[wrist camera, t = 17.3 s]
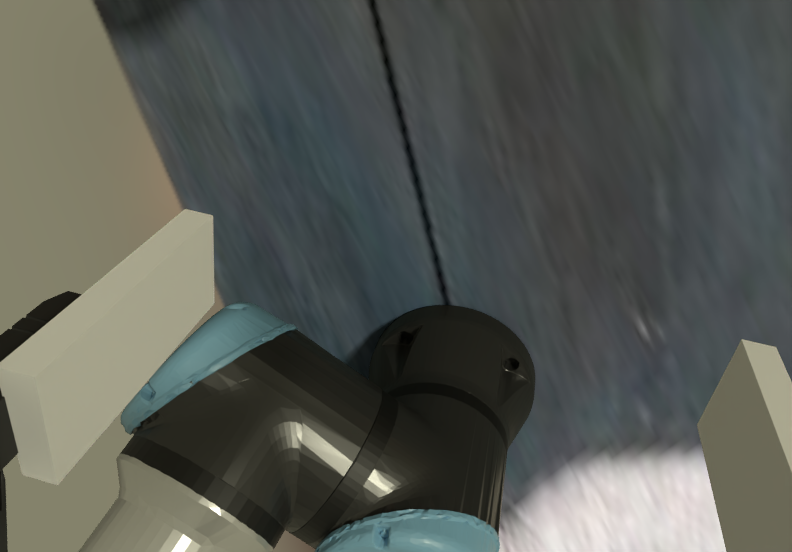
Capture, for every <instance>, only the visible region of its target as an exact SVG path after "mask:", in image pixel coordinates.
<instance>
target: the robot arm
mask: <svg viewBox="0 0 792 552" xmlns="http://www.w3.org/2000/svg"><path fill="white" fill-rule="evenodd" d="M213 305H214V251H213V215H209V214H204V213H200V212H196V211H191V210H187V209H185V210H183V211H182V212H181V213H180V214H179V215H177V216H176V217H175V218H174V219H173V220H171V221H170V222H169V223H168V224H166V225H165V226H164V227H163V228H162V229H160V230H159V231H158V232H157V233H156V234H154V235H153V236H152V237H151V238H150V239H149V240H147V241H146V242H145V243H144V244H142V245H141V246H140V247H139V248H138V249H136V250H135V251H134V252H133V253H131V254H130V255H129V256H128V257H127V258H125V260H123V261H122V262H121V263H119V264H118V265H117V266H116V267H115V268H113V269H112V270H111V271H110V272H109V273H107V274H106V275H105V276H104V277H103V278H101V279H100V280H99V281H98V282H96V283H95V284H94V285H93V286H92V287H90V288H89V289H88V290H87V291H86V292H84V293H83V294H82V295H81V294H78V293H74V292H70V291H67V292H65V293H62V294H60V295H58V296H55V297H53V298H51V299H48V300H46V301H44V302H42V303H41V304H40V305H39V306H37V307H36V308H35V309H33V310H32V311H31V312H30V313H28V314H27V316H26V318H22V319H21V320H19V321H18V322H17V323H16V324H15V325H13V326H12V329H8V330H7V331H5V332H4V333H3V334H2V335H0V552H8V550H7V522H6V521H7V520H6V490H5V477H4V474H3V470H2V469H3V468H4V467H5V466H6V465H7V464H8V463H9V462H10V461H11V460H12V459H13V458H14V457H15V455H17V457H18V461H19V465H20V468H21V473H22V475H24V476H27V477H31V478H34V479H37V480H40V481H44V482H47V483H51V484H54V485H59V483H60V482H61V481H62V480H63V479H64V478H65V476H66V475H67V474H68V473H69V472H70V470H71V469H72V468H73V467H74V466H75V465H76V464H77V462H78V461H79V460H80V459H81V458H82V457H83V455H84V454H85V453H86V452H87V451H88V450H89V449H90V447H91V446H92V445H93V444H94V443H95V441H96V440H97V439H98V438H99V437H100V436H101V435H102V433H103V432H104V431H105V430H106V429H107V428H108V426H109V425H110V424H111V423H112V422H113V421H114V419H115V418H116V417H117V416H118V415H119V414H120V412H121V411H122V410H123V409H124V408H125V407H126V408H125V409H124V411H123V413H122V415H121V424H122V425H123V426H124V427H125V431H126V432H127V433H129V434H130V435H131V434H132V433H133V434H134V436H133V437H132V439H131V440H130V441H129V443H128V444H127V445H126V447H125V448H124V449H123V451H122V452H121V453H120V455H119V456H118V457H117V466H118V475H119V484H120V490H119V497H118V499H117V500H116V501H115V502H114V504H113V505H112V507H111V508H110V509H109V511H108V512H107V514H106V515H105V516H104V518H103V519H102V520H101V522H100V523H99V524H98V526H97V527H96V528H95V530H94V531H93V533H92V534H91V535H90V537H89V538H88V539H87V541H86V542H85V544H84V545H83V546H82V548H81V549H80V551H79V552H272V551H273V549H274V548H275V546H276V544H277V543H278V541H279V539H280V538H281V536H282V534H283V532H284V531H285V530H286V531H288V532H289V533H291V534H293V535H294V536H296V537H297V538H299V539H301V540H302V541H304V542H305V543H306V544H308V545H310V546H311V547H313V548H314V549H316V550H315V552H498V551H499V545H500V543H499V537H498V535H499V525H500V516H501V507H502V497H503V488H504V479H505V469H506V458H507V450H508V448H509V447H510V445H511V443H512V442H513V440H514V439H515V437H516V435H517V434H518V432H519V431H520V429H521V428H522V426H523V424H524V423H525V421H526V420H527V418H528V416H529V413H530V411H531V408H532V404H533V400H534V390H535V370H534V366H533V362H532V359H531V357H530V354H529V353H528V351H527V349H526V347H525V346H524V344H523V343H522V342H521V340H520V339H519V338H518V337H517V336H516V335H515V334H514V333H513V332H512V331H511V330H510V329H509V328H508V327H506V326H505V325H504V324H502V323H501V322H499V321H498V320H496V319H494V318H493V317H491V316H488V315H486V314H484V313H482V312H479V311H476V310H473V309H469V308H465V307H459V306H450V305H438V306H429V307H424V308H420V309H416V310H413V311H411V312H409V313H406V314H405V315H403V316H401V317H399V318H398V319H396V320H395V321H394V322H393V323H392V324H390V325H389V326H388V327H387V329H386V330H385V331H384V332H383V334H382V335H381V337H380V339H379V341H378V343H377V346H376V348H375V350H374V353H373V355H372V358H371V362H370V368H369V380H368V379H367V378H365V377H364V376H362V375H361V374H359V373H358V372H356V371H355V370H353V369H352V368H351V367H349V366H348V365H346V364H345V363H343V362H342V361H340V360H339V359H337V358H336V357H334V356H333V355H332V354H330V353H329V352H327V351H326V350H325V349H323V348H322V347H320V346H319V345H318V344H316V343H315V342H313V341H312V340H310V339H309V338H308V337H306V336H305V335H303V334H302V333H301V332H299V331H298V330H297V327H296V326H295V325H293V324H287V323H285V322H283V321H282V320H280V319H278V318H277V317H275V316H273V315H272V314H270V313H268V312H267V311H265V310H264V309H262V308H261V307H259V306H257V305H255V304H252V303H248V302H237V303H233V304H231V305H228V306H226V307H225V308H223V309H221V310H220V311H219V312H217V313H216V314H215V315H213V316H212V317H211V318H210V319H209V320H207V321H206V322H205V323H204V324H203V325H202V326H201V327H200V328H199V329H197V330H196V331H195V332H194V333H193V334H192V335H191V336H190V337H189V338H188V339H187V340H186V341H185V342H184V343H183V344H182V345H181V346H180V347H179V348H178V349H177V350H176V351H175V352H174V353H173V354H172V355H171V356H170V354H171V353H172V352H173V351H174V350H175V349H176V348H177V346H178V345H179V344H180V343H181V342H182V341H183V339H184V338H185V337H186V336H187V335H188V334H189V332H190V331H191V330H192V329H193V328H194V327H195V325H196V324H197V323H198V322H199V321H200V320H201V319H202V317H203V316H204V315H205V314H206V313H207V312H208V310H209V309H210V308H211V307H212V306H213ZM169 356H170V357H169ZM168 357H169V358H168ZM167 358H168V359H167ZM166 359H167V360H166ZM165 360H166V361H165ZM164 361H165V362H164ZM148 380H149V382H148V383H147V384H146V382H147V381H148ZM141 388H142V389H141ZM140 389H141V390H140ZM139 390H140V391H139ZM127 404H128V405H127ZM697 427H698V431H699V435H700V440H701V444H702V448H703V453H704V457H705V461H706V465H707V470H708V474H709V478H710V483H711V487H712V491H713V495H714V500H715V504H716V508H717V513H718V517H719V521H720V526H721V530H722V534H723V538H724V543H725V547H726V551H727V552H792V382H791V380H790V378H789V375H788V373H787V371H786V369H785V366H784V364H783V362H782V360H781V357H780V355H779V353H778V351H777V348H776V347H772V346H768V345H764V344H760V343H755V342H751V341H747V340H743V339H742V340H741V342H740V343H739V345H738V347H737V349H736V351H735V353H734V355H733V357H732V359H731V361H730V363H729V365H728V367H727V368H726V370H725V372H724V374H723V376H722V378H721V380H720V382H719V384H718V386H717V388H716V390H715V391H714V393H713V395H712V397H711V399H710V401H709V403H708V405H707V407H706V409H705V411H704V413H703V415H702V416H701V418H700V420H699V422H698V424H697Z"/></svg>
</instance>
